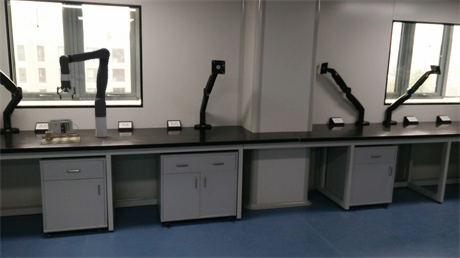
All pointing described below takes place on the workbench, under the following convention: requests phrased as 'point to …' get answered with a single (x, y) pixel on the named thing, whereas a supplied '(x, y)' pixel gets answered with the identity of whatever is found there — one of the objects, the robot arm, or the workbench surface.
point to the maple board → (62, 139)
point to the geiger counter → (61, 126)
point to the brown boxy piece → (49, 135)
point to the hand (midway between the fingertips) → (66, 99)
